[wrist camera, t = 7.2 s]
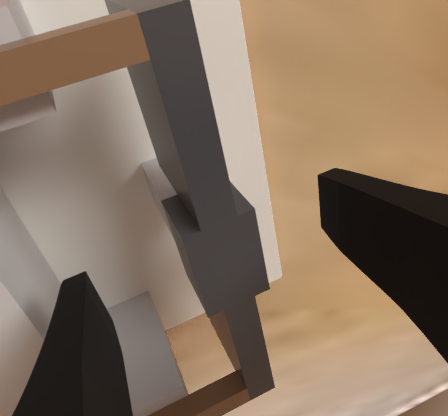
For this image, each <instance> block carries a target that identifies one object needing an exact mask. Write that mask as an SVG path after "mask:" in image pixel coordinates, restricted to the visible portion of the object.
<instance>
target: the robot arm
mask: <svg viewBox="0 0 448 416" xmlns="http://www.w3.org/2000/svg"><path fill="white" fill-rule="evenodd" d="M318 187H319V202H320V216H321V227H322V229H323V230H324V231H325V233H326V234H327V235H328V236H329V238H330V239H331V240H332V242H333V243H334V244H335V245H336V246H337V247H338V249H339V250H340V251H341V252H342V253H343V254H344V255H345V256H346V257H347V258H348V259H349V260H350V261H351V262H353V263H354V264H355V265H356V266H357V267H358V268H359V269H360V270H361V271H362V272H363V273H364V274H365V275H366V276H368V277H369V278H370V279H371V280H372V281H373V282H374V283H375V284H376V285H377V286H378V287H379V288H381V289H382V290H383V291H384V292H385V293H386V294H387V295H388V296H389V297H390V298H391V299H392V300H393V301H394V302H395V303H396V304H397V305H398V306H399V307H400V308H401V309H402V310H403V311H404V312H405V313H406V314H407V315H408V317H409V318H410V319H411V320H412V321H413V322H414V323H415V325H416V326H417V327H418V328H419V329H420V330H421V331H422V333H423V334H424V335H425V336H426V337H427V339H428V340H429V341H430V342H431V343H432V345H433V346H434V347H435V348H436V349H437V351H438V352H439V353H440V354H441V355H442V357H443V358H444V359H445V360H446V362H447V363H448V195H447V194H442V193H437V192H432V191H427V190H422V189H418V188H414V187H409V186H405V185H401V184H397V183H393V182H389V181H386V180H382V179H378V178H374V177H370V176H367V175H363V174H359V173H355V172H351V171H347V170H343V169H338V168H334V169H331V170H329V171H326V172H324V173H321V174H319V175H318ZM12 416H133V413H132V407H131V401H130V395H129V389H128V383H127V377H126V371H125V365H124V359H123V353H122V349H121V346H120V343H119V339H118V336H117V332H116V329H115V326H114V323H113V320H112V318H111V316H110V314H109V312H108V311H107V309H106V307H105V305H104V303H103V301H102V300H101V298H100V296H99V294H98V292H97V291H96V289H95V287H94V285H93V283H92V281H91V280H90V278H89V276H88V274H87V272H86V271H84V272H82V273H79V274H77V275H75V276H72V277H70V278H67V279H65V280H63V281H62V283H61V286H60V290H59V293H58V297H57V301H56V304H55V308H54V311H53V314H52V317H51V321H50V324H49V327H48V330H47V333H46V336H45V339H44V341H43V344H42V347H41V350H40V353H39V355H38V358H37V360H36V363H35V365H34V368H33V370H32V373H31V375H30V377H29V380H28V382H27V385H26V387H25V389H24V391H23V393H22V396H21V398H20V400H19V402H18V404H17V406H16V408H15V410H14V412H13V414H12Z"/></svg>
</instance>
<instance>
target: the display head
mask: <svg viewBox="0 0 448 416" xmlns="http://www.w3.org/2000/svg"><path fill="white" fill-rule="evenodd" d="M190 3H191V7H192V12H193V16H194V21H195V25H196V30H197V34H198V39H199V44H200V48H201V53H202V57H203V62H204V66H205V71H206V76H207V80H208V85H209V89H210V94H211V98H212V103H213V107H214V112H215V117H216V121H217V126H218V130H219V135H220V139H221V144H222V149H223V153H224V158H225V162H226V167H227V171H228V176H229V180H230V182H231V183H232V184H233V185H234V186H235V187H236V188H237V190H238V191H239V192H240V193H241V194H242V195H243V196H244V197H245V198H246V199H247V201H248V202H249V203H250V204H251V205H252V206H253V207H254V208H255V212H256V217H257V222H258V228H259V233H260V239H261V244H262V249H263V255H264V260H265V266H266V271H267V277H268V282H269V283H270V282H272V281H274V280H276V279H279V278H281V277H282V272H281V265H280V259H279V253H278V246H277V240H276V233H275V227H274V220H273V214H272V207H271V201H270V195H269V188H268V182H267V175H266V169H265V162H264V156H263V149H262V143H261V137H260V130H259V124H258V117H257V111H256V104H255V98H254V91H253V85H252V79H251V72H250V66H249V59H248V53H247V46H246V40H245V33H244V27H243V21H242V14H241V8H240V1H239V0H190ZM106 15H109V12H108V9H107V6H106V3H105V0H0V45H2V44H6V43H9V42H13V41H16V40H20V39H24V38H27V37H31V36H34V35H38V34H42V33H45V32H49V31H52V30H56V29H59V28H63V27H67V26H70V25H74V24H77V23H81V22H85V21H88V20H92V19H95V18H99V17H102V16H106ZM174 195H177V193H176V191H175V190H174V188H173V187H172V185H171V184H170V182H169V180H168V179H167V177H166V176H165V174H164V173H163V171H162V169H161V168H160V166H159V163H158V160H157V157H156V154H155V151H154V148H153V145H152V142H151V139H150V136H149V133H148V130H147V127H146V124H145V121H144V118H143V115H142V112H141V109H140V106H139V103H138V100H137V97H136V94H135V91H134V88H133V85H132V82H131V79H130V76H129V73H128V70H127V67H125V68H122V69H119V70H115V71H112V72H109V73H106V74H102V75H99V76H96V77H93V78H90V79H86V80H83V81H80V82H77V83H73V84H70V85H67V86H64V87H61V88H57V89H54V90H51V91H48V92H44V93H41V94H38V95H35V96H32V97H28V98H25V99H22V100H19V101H15V102H12V103H9V104H6V105H3V106H0V416H12V414H13V412H14V410H15V408H16V406H17V404H18V402H19V400H20V398H21V396H22V393H23V391H24V389H25V387H26V385H27V382H28V380H29V377H30V375H31V373H32V370H33V368H34V365H35V363H36V360H37V358H38V355H39V353H40V350H41V347H42V344H43V341H44V339H45V336H46V333H47V330H48V327H49V324H50V321H51V317H52V314H53V311H54V308H55V304H56V301H57V297H58V293H59V290H60V286H61V283H62V281H63V280H65V279H67V278H70V277H72V276H75V275H77V274H79V273H82V272H84V271H86V272H87V274H88V276H89V278H90V280H91V281H92V283H93V285H94V287H95V289H96V291H97V292H98V294H99V296H100V298H101V300H102V301H103V303H104V305H105V307H106V309H107V311H108V312H109V314H110V316H111V318H112V320H113V323H114V326H115V329H116V332H117V336H118V339H119V343H120V346H121V349H122V353H123V359H124V365H125V371H126V377H127V383H128V389H129V395H130V401H131V407H132V413H133V416H148V415H150V414H152V413H154V412H156V411H158V410H160V409H162V408H164V407H166V406H168V405H170V404H172V403H174V402H176V401H178V400H180V399H182V398H184V397H186V396H188V395H189V394H188V391H187V389H186V386H185V383H184V380H183V378H182V375H181V372H180V370H179V367H178V364H177V361H176V359H175V356H174V353H173V351H172V348H171V345H170V343H169V340H168V337H167V334H166V332H165V331H167V330H169V329H171V328H173V327H175V326H177V325H180V324H182V323H184V322H186V321H188V320H190V319H193V318H195V317H197V316H199V315H201V314H203V313H205V310H204V308H203V306H202V304H201V302H200V300H199V298H198V296H197V294H196V292H195V290H194V288H193V286H192V284H191V282H190V280H189V278H188V276H187V274H186V271H185V269H184V266H183V263H182V260H181V257H180V254H179V251H178V248H177V246H176V243H175V240H174V237H173V234H172V231H171V228H170V225H169V223H168V220H167V217H166V214H165V211H164V208H163V205H162V203H161V200H164V199H167V198H169V197H172V196H174Z"/></svg>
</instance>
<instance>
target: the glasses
mask: <svg viewBox="0 0 448 416" xmlns="http://www.w3.org/2000/svg"><path fill="white" fill-rule="evenodd" d="M105 3H106V6H107V9H108V12H109V15H106V16H102V17H99V18H95V19H92V20H88V21H85V22H81V23H77V24H74V25H70V26H67V27H63V28H59V29H56V30H52V31H49V32H45V33H42V34H38V35H34V36H31V37H27V38H24V39H20V40H16V41H13V42H9V43H6V44H2V45H0V106H3V105H6V104H9V103H12V102H15V101H19V100H22V99H25V98H28V97H32V96H35V95H38V94H41V93H44V92H48V91H51V90H54V89H57V88H61V87H64V86H67V85H70V84H73V83H77V82H80V81H83V80H86V79H90V78H93V77H96V76H99V75H102V74H106V73H109V72H112V71H115V70H119V69H122V68H125V67H127V70H128V73H129V76H130V79H131V82H132V85H133V88H134V91H135V94H136V97H137V100H138V103H139V106H140V109H141V112H142V115H143V118H144V121H145V124H146V127H147V130H148V133H149V136H150V139H151V142H152V145H153V148H154V151H155V154H156V157H157V160H158V163H159V166H160V168H161V169H162V171H163V173H164V174H165V176H166V177H167V179H168V180H169V182H170V184H171V185H172V187H173V188H174V190H175V191H176V193H177V195H174V196H172V197H169V198H167V199H164V200H161V203H162V205H163V208H164V211H165V214H166V217H167V220H168V223H169V225H170V228H171V231H172V234H173V237H174V240H175V243H176V246H177V248H178V251H179V254H180V257H181V260H182V263H183V266H184V269H185V271H186V274H187V276H188V278H189V280H190V282H191V284H192V286H193V288H194V290H195V292H196V294H197V296H198V298H199V300H200V302H201V304H202V306H203V308H204V310H205V312H206V314H207V316H208V318H210V321H211V323H212V325H213V327H214V329H215V331H216V333H217V335H218V337H219V339H220V341H221V343H222V345H223V347H224V349H225V351H226V353H227V355H228V357H229V359H230V361H231V363H232V365H233V367H234V369H235V372H233V373H231V374H229V375H227V376H225V377H223V378H221V379H219V380H217V381H215V382H213V383H211V384H209V385H207V386H205V387H203V388H201V389H199V390H197V391H195V392H193V393H191V394H189V395H188V396H186V397H184V398H182V399H180V400H178V401H176V402H174V403H172V404H170V405H168V406H166V407H164V408H162V409H160V410H158V411H156V412H154V413H152V414H150V415H148V416H222V415H224V414H226V413H227V412H229V411H231V410H233V409H235V408H237V407H239V406H241V405H243V404H245V403H246V402H248V401H250V400H252V399H254V398H256V397H258V396H260V395H262V394H263V393H265V392H267V391H269V390H271V389H273V388H275V386H274V381H273V377H272V372H271V368H270V363H269V358H268V354H267V349H266V345H265V340H264V336H263V331H262V326H261V322H260V317H259V313H258V308H257V304H256V299H255V296H256V295H258V294H260V293H262V292H264V291H266V290H269V289H270V287H269V282H268V277H267V271H266V266H265V260H264V255H263V249H262V244H261V239H260V233H259V228H258V222H257V217H256V212H255V208H254V207H253V206H252V205H251V204H250V203H249V202H248V201H247V199H246V198H245V197H244V196H243V195H242V194H241V193H240V192H239V191H238V190H237V188H236V187H235V186H234V185H233V184H232V183H231V182H230V180H229V176H228V171H227V167H226V162H225V158H224V153H223V149H222V144H221V139H220V135H219V130H218V126H217V121H216V117H215V112H214V107H213V103H212V98H211V94H210V89H209V85H208V80H207V76H206V71H205V66H204V62H203V57H202V53H201V48H200V44H199V39H198V34H197V30H196V25H195V21H194V16H193V12H192V7H191V3H190V0H105Z"/></svg>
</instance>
